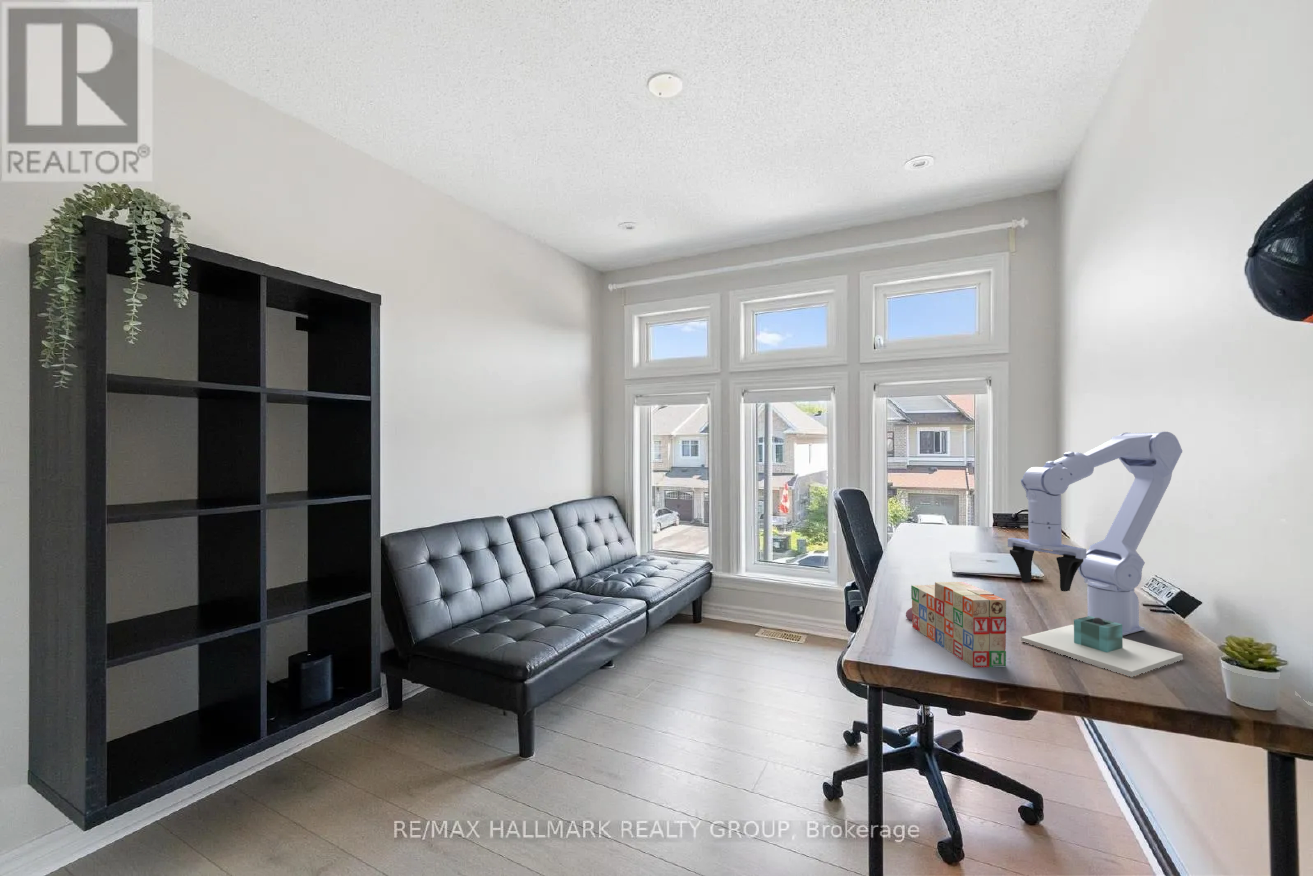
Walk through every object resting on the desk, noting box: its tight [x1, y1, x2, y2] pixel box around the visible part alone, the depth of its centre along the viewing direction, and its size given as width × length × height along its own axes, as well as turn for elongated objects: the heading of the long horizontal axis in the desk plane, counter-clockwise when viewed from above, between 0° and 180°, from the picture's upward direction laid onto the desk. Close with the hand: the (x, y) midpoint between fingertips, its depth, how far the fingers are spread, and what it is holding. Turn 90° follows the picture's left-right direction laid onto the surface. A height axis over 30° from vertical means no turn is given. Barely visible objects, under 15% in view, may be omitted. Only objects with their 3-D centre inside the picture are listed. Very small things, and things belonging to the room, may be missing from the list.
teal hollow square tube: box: [1073, 615, 1123, 652], centre depth 102 cm, size 5×5×4 cm
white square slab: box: [1020, 618, 1184, 678], centre depth 102 cm, size 18×18×6 cm
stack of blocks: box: [910, 581, 1007, 668], centre depth 105 cm, size 21×6×12 cm, turn 2°
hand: (1045, 586), depth 113 cm, fingers open, 7 cm apart
